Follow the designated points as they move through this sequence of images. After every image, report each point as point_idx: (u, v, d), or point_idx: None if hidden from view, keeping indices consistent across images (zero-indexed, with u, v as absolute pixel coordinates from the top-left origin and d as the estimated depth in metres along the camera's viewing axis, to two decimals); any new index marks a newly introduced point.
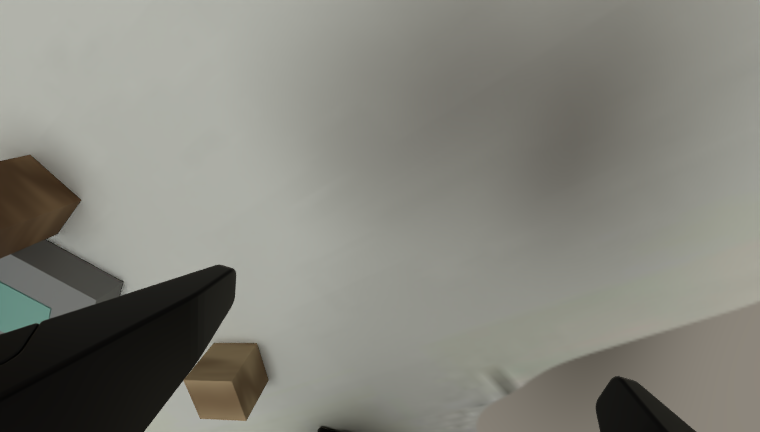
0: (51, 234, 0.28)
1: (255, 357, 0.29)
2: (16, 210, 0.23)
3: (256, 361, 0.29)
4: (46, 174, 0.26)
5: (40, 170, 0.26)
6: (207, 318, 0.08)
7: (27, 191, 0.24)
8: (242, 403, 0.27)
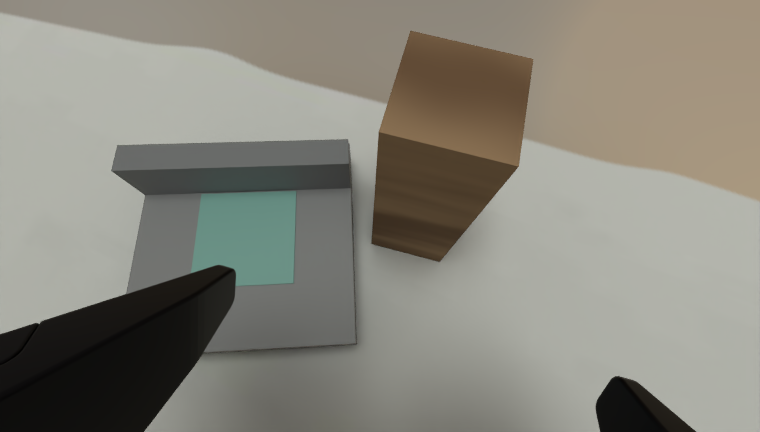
0: (378, 242, 0.22)
1: None
2: None
3: None
4: None
5: None
6: (207, 318, 0.08)
7: None
8: None
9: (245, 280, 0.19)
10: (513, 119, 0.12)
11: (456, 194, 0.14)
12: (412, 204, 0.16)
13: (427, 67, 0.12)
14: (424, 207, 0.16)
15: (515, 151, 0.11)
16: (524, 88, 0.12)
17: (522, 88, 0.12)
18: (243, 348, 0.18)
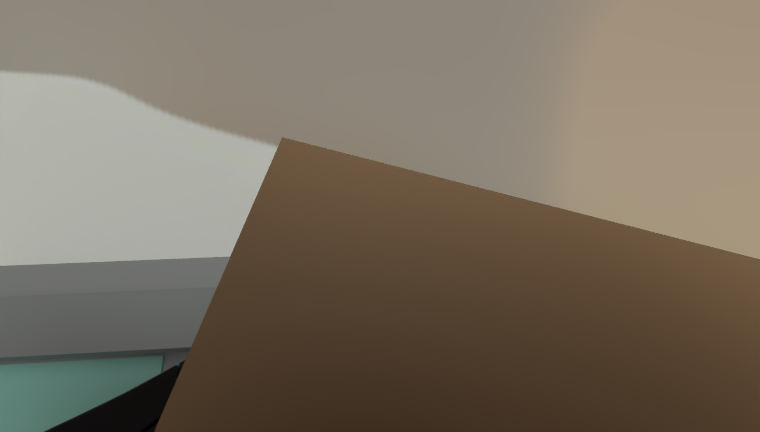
0: None
1: None
2: None
3: None
4: None
5: None
6: None
7: None
8: None
9: None
10: None
11: None
12: None
13: (333, 330, 0.03)
14: None
15: None
16: None
17: None
18: None
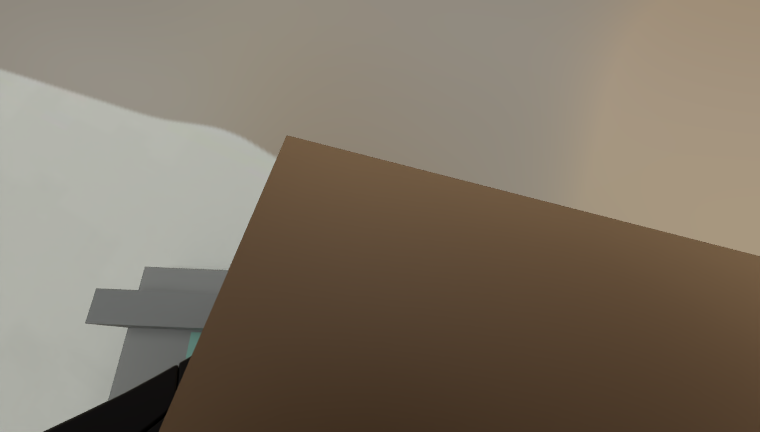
0: None
1: None
2: None
3: None
4: None
5: None
6: None
7: None
8: None
9: None
10: None
11: None
12: None
13: (338, 328, 0.03)
14: None
15: None
16: None
17: None
18: None
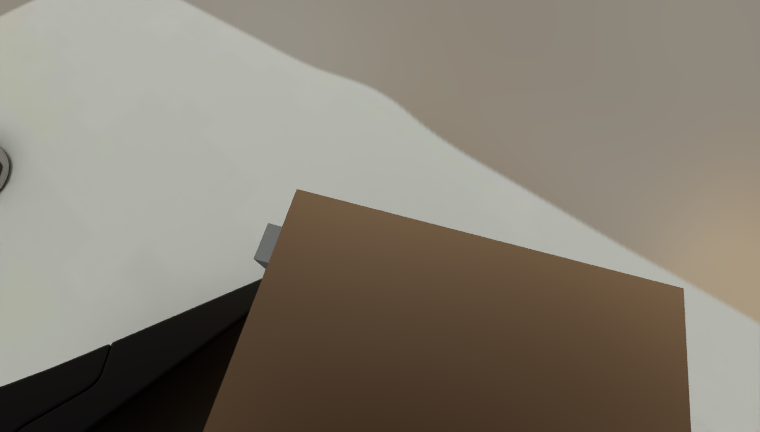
0: None
1: None
2: None
3: None
4: None
5: None
6: None
7: None
8: None
9: None
10: None
11: None
12: None
13: (337, 339, 0.04)
14: None
15: None
16: (672, 424, 0.03)
17: (666, 423, 0.03)
18: None
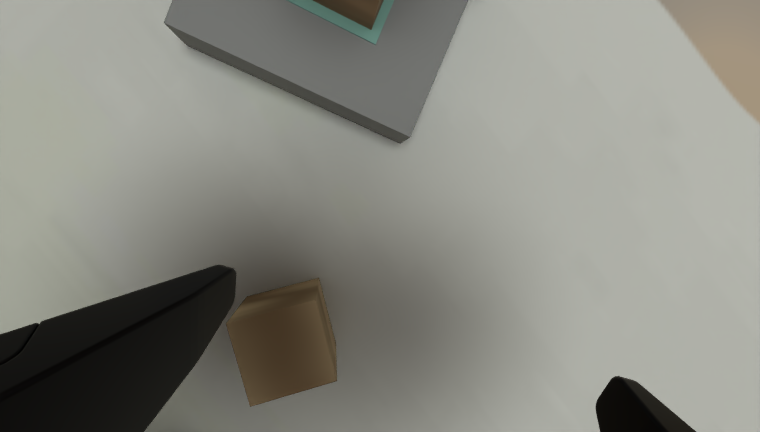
0: None
1: None
2: None
3: None
4: None
5: None
6: (207, 318, 0.08)
7: None
8: None
9: (326, 13, 0.16)
10: None
11: None
12: None
13: None
14: None
15: None
16: None
17: None
18: (300, 84, 0.17)
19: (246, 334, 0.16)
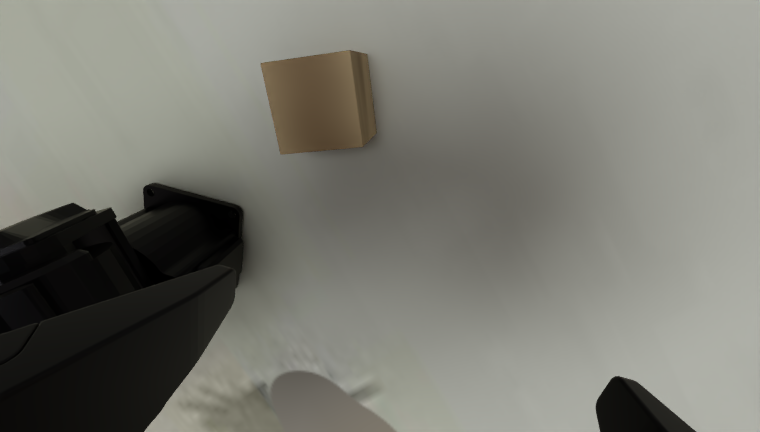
0: None
1: None
2: None
3: None
4: None
5: None
6: (207, 318, 0.08)
7: None
8: (312, 150, 0.17)
9: None
10: None
11: None
12: None
13: None
14: None
15: None
16: None
17: None
18: None
19: (279, 78, 0.16)
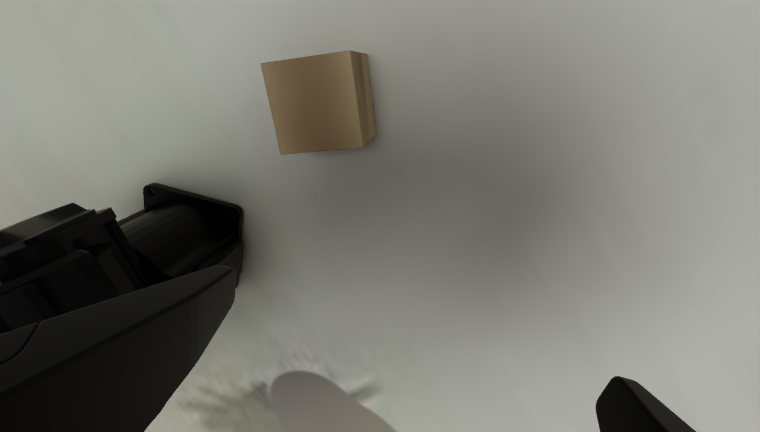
0: None
1: None
2: None
3: None
4: None
5: None
6: (207, 318, 0.08)
7: None
8: None
9: None
10: None
11: None
12: None
13: None
14: None
15: None
16: None
17: None
18: None
19: (279, 79, 0.16)
